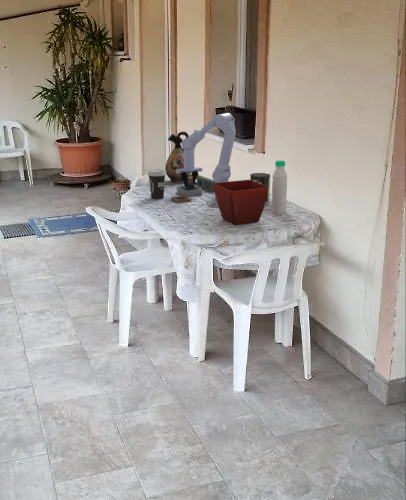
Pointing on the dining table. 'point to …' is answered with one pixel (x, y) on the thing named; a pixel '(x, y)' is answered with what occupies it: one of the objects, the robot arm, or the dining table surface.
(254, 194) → the plant pot
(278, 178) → the water bottle
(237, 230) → the dining table surface
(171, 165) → the ceramic jug
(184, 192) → the cell bin
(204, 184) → the handheld radio
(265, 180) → the coffee can
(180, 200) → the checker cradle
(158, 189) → the coffee cup
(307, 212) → the dining table surface
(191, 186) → the battery cell
